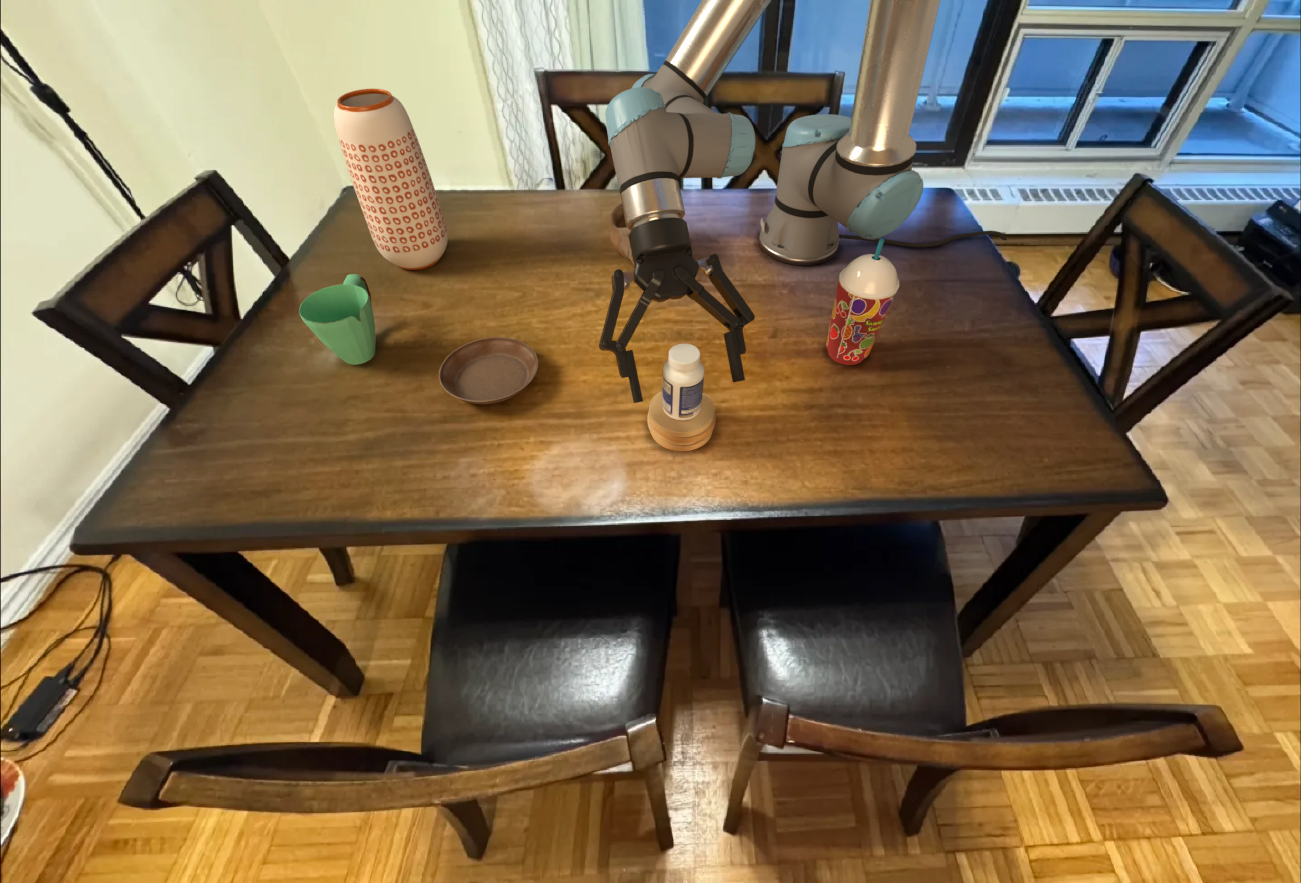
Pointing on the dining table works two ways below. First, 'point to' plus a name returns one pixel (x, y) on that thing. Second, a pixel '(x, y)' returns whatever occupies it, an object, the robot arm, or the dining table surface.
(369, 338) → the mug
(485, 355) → the saucer
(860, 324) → the smoothie
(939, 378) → the dining table surface
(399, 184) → the patterned vase
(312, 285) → the dining table surface
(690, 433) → the coaster stack
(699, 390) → the pill bottle
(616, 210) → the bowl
